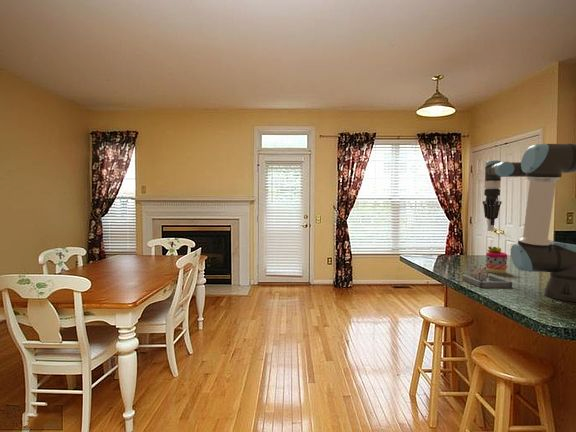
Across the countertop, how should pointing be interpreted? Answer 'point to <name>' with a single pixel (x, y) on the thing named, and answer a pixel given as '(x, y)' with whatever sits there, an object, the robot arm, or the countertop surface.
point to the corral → (496, 282)
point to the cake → (496, 260)
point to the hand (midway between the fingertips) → (490, 230)
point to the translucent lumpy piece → (480, 273)
